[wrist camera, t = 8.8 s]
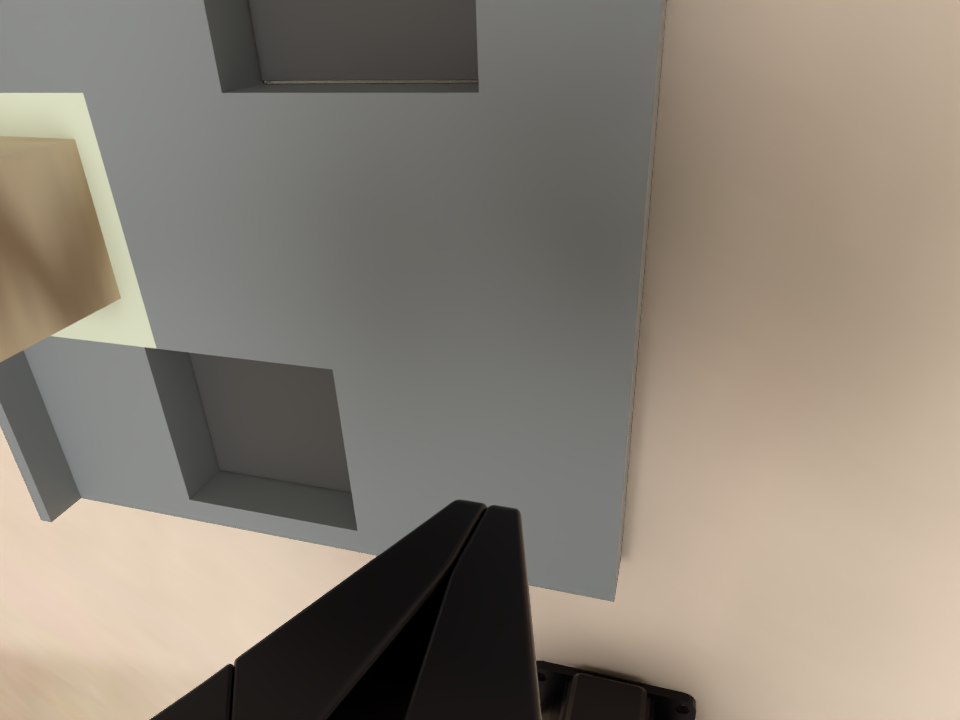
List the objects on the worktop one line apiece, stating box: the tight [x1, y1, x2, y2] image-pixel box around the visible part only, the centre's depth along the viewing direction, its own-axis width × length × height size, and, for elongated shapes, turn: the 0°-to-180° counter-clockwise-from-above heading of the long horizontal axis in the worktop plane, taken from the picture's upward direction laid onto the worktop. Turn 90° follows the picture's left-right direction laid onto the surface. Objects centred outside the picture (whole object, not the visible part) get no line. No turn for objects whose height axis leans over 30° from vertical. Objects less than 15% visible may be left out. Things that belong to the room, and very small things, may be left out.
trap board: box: [0, 0, 667, 602], centre depth 20 cm, size 22×23×4 cm
